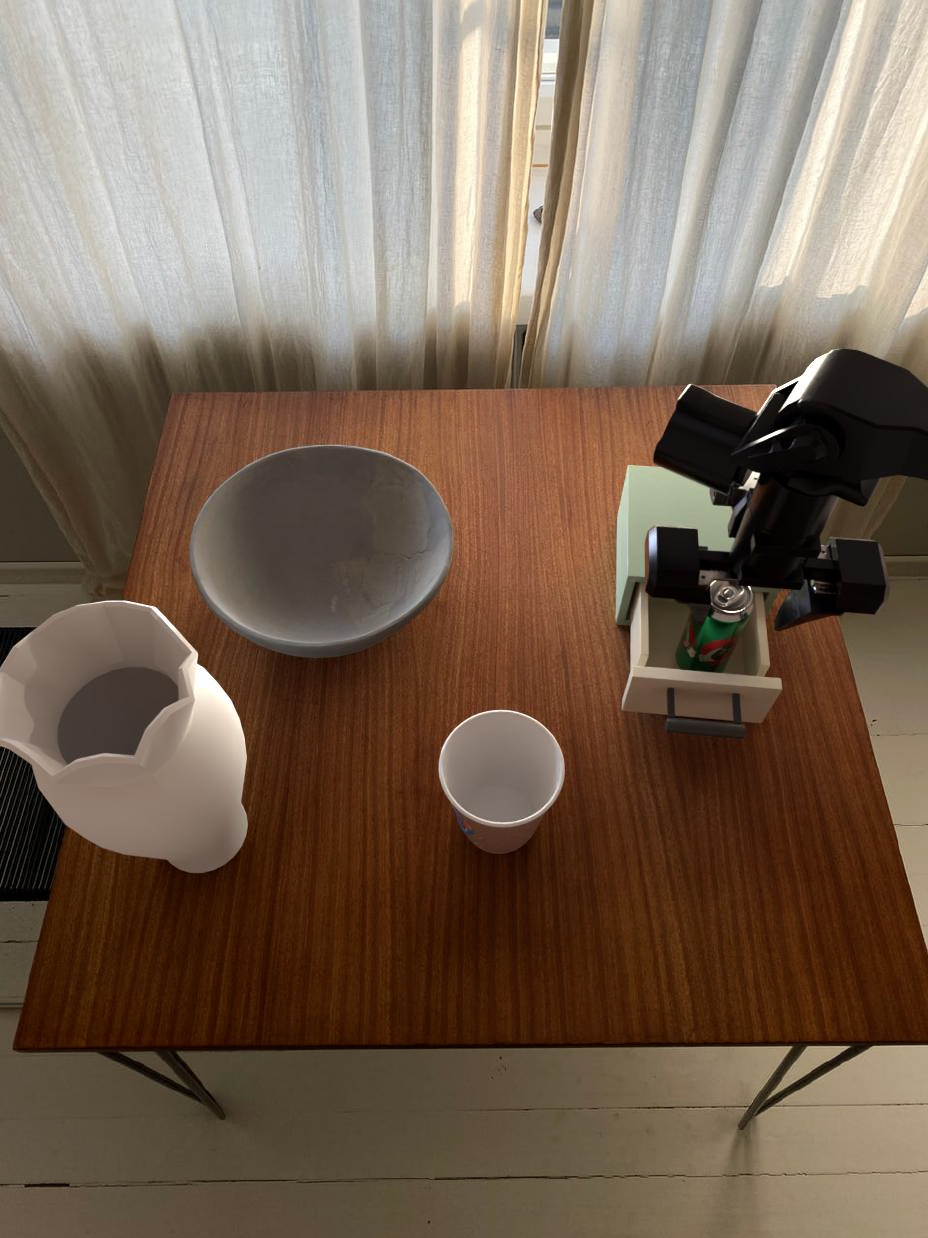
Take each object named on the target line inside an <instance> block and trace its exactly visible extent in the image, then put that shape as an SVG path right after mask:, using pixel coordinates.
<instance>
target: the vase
mask: <svg viewBox="0 0 928 1238" xmlns="http://www.w3.org/2000/svg"><path fill="white" fill-rule="evenodd" d="M198 658H199V653H198V651H197V650H196V649H195V648H194V646H193V645H191V644H190V643H189V641H188V640H187V639H186V638H185V637H184V636H183V635H182V633H181V632H180V631H179V630H178V629H177V628H176V627H175V626H174V624H172V623H171V622H170V620H169V619H168V618H167V617H166V616H165V615H164V614H163V613H162V612H161V611H160V610H159V609H158V608H157V607H156V606H152V605H147V604H142V603H138V602H133V601H128V600H104V601H96V602H90V603H81V604H76V605H74V606H72V607H70V608H67V609H65V610H62V611H59V612H57V613H55V614H52V615H51V616H50V617H49V618H47V619H46V620H45V621H44V622H42V623H41V624H40V625H38V626H37V627H36V628H34V629H33V630H32V631H31V632H29V633H28V634H27V635H26V636H25V637H23V638H22V639H21V640H19V641H18V642H17V643H16V644H15V645H13V646H12V648H11V649H10V651H9V653H8V655H7V656H6V657H5V660H4V661H3V663H2V664H1V666H0V747H2V748H5V749H7V750H9V751H11V752H13V753H14V754H16V755H17V756H18V757H20V758H22V759H23V760H24V761H26V762H27V763H28V764H30V765H31V768H32V771H33V775H34V778H35V781H36V784H37V785H36V786H37V788H38V789H39V791H40V792H41V793H42V795H43V796H44V798H45V799H46V800H47V802H48V803H49V804H50V806H51V807H52V809H53V810H54V812H56V814H57V816H58V817H59V818H60V820H61V821H62V822H63V824H64V825H65V826H66V827H67V828H70V829H71V830H72V831H74V832H75V833H77V834H78V835H80V836H81V837H82V838H83V839H85V840H88V841H89V842H91V843H93V844H94V845H96V846H98V847H100V848H102V849H105V850H108V851H111V852H114V853H115V852H116V853H118V854H122V855H125V856H133V857H140V858H141V857H142V858H148V859H149V858H150V859H156V860H157V859H158V860H167V862H169V864H170V865H172V866H173V867H175V868H176V869H178V870H180V871H182V872H186V873H190V874H204V873H208V872H211V871H215V870H217V869H218V868H221V867H223V866H225V865H226V864H227V863H228V862H229V861H231V860H232V859H234V858H235V856H236V855H237V853H238V852H239V851H240V850H241V848H242V847H243V844H244V842H245V839H246V838H247V833H248V826H249V822H248V815H247V812H246V810H245V808H244V805H243V803H242V800H243V799H242V798H243V790H244V783H245V775H246V768H247V760H248V756H247V748H246V747H247V746H246V739H245V733H244V730H243V727H242V723H241V719H240V716H239V714H238V713H237V711H236V708H235V705H234V704H233V701H232V700H231V698H230V697H229V695H228V694H227V693H226V692H225V690H224V689H223V688H222V686H221V685H220V684H219V683H218V681H217V680H216V679H215V678H214V677H213V676H212V675H211V674H210V673H209V672H208V671H207V670H206V668H205V667H203V666H201V664H198Z"/></svg>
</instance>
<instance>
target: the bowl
mask: <svg viewBox="0 0 928 1238" xmlns="http://www.w3.org/2000/svg"><path fill="white" fill-rule="evenodd" d="M454 541H455V540H454V526H453V521H452V518H451V514H450V512H449V510H448V508H447V505H446V504H445V502H444V500H443V498H442V496H441V494H440V493H439V492H438V490H437V488H436V487H435V486H434V484H433V483H432V482H431V480H429V479H428V478H427V476H426V475H425V474H423V473H422V471H420V470H419V469H417V467H415V466H414V465H412V464H410V463H407V462H406V461H404V460H402V459H400V458H398V457H396V456H394V455H391V454H389V453H387V452H383V451H381V450H378V449H372V448H369V447H368V448H367V447H362V446H355V445H346V444H345V445H344V444H319V445H317V444H316V445H306V446H298V447H293V448H287V449H283V450H279V451H276V452H274V453H273V452H272V453H271V454H268V455H265V456H263V457H260V458H258V459H256V460H254V461H252V462H250V463H249V464H247V465H246V466H244V467H243V468H241V469H240V470H238V471H236V472H235V473H234V474H232V475H231V476H229V477H228V478H227V479H226V480H225V481H223V483H221V485H219V486H218V487H217V488H216V489H215V490H214V491H213V493H212V494H211V495H210V496H209V498H208V499H207V500H206V501H205V503H204V505H203V506H202V508H201V510H200V511H199V514H198V515H197V517H196V520H195V522H194V525H193V528H192V532H191V537H190V543H189V563H190V564H189V565H190V571H191V575H192V578H193V581H194V584H195V586H196V589H197V591H198V593H199V595H200V597H201V599H202V600H203V602H204V603H205V605H206V606H207V607H208V608H209V610H210V611H211V612H212V613H213V614H214V615H215V616H216V617H217V618H218V619H219V620H220V621H221V622H222V623H223V624H224V625H226V626H227V627H229V628H230V629H231V630H232V631H234V632H235V633H236V634H238V635H240V636H242V637H243V638H245V639H247V640H248V641H250V642H252V643H253V644H256V645H258V646H261V647H263V648H265V649H267V650H270V651H274V652H276V653H280V654H284V655H288V656H293V657H300V658H305V659H306V658H307V659H308V658H309V659H328V658H337V657H343V656H348V655H351V654H355V653H359V652H361V651H364V650H367V649H369V648H372V647H374V646H375V645H377V644H379V643H381V642H384V641H385V640H386V639H388V638H390V637H391V636H393V635H394V634H396V633H397V632H399V631H400V630H402V629H403V628H404V627H406V626H407V625H408V624H410V623H411V622H412V621H413V620H414V619H416V617H417V616H419V615H420V614H421V613H422V612H423V611H424V610H425V609H426V608H427V607H428V606H429V605H430V604H431V602H432V601H433V600H434V599H435V597H436V596H437V595H438V593H439V592H440V590H441V588H442V587H443V585H444V583H445V581H446V579H447V577H448V575H449V572H450V569H451V566H452V561H453V555H454V544H455V542H454Z"/></svg>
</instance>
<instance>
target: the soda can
mask: <svg viewBox="0 0 928 1238" xmlns="http://www.w3.org/2000/svg"><path fill="white" fill-rule="evenodd" d="M710 591H711V606H710V609H709V612H708V615H707V617H706V620H705V622H704V623H703V624H702V625H697V623H696V620H695V617H694V614H693V612H692V611H690V614H689V617H688V620H687V622H686V625H685V628H684V630H683V633H682V636H681V638H680V641H679V644H678V647H677V649H676V653H675V657H676V662H677V664H678V666H679V668H680V669H681V670H688V671H700V672H712V673H723V671H724V670H725V668H726V666H727V663H728V661H729V659H730V657H731V655H732V653H733V651H734V649H735V647H736V645H737V643H738V640H739V638H740V636H741V634H742V632H743V630H744V628H745V626H746V624H747V622H748V619H749V617H750V615H751V613H752V611H753V608H754V601H753V595H752V591H751V589H750V587H748V586H738V582H729V581H716V580H713V581H712V582H711V583H710Z"/></svg>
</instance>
